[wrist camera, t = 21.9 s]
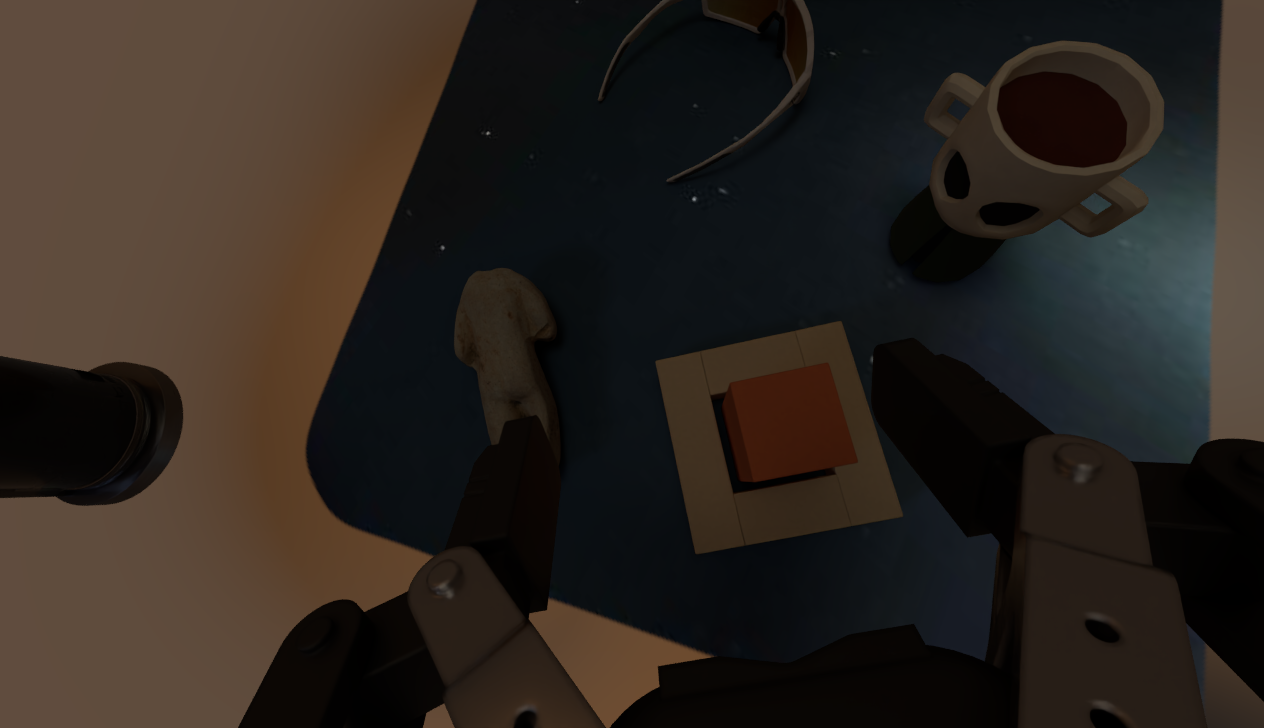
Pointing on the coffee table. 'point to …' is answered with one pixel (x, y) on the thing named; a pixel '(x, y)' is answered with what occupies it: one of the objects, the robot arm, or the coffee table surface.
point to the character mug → (1030, 155)
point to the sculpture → (507, 349)
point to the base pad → (786, 505)
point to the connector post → (786, 424)
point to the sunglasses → (755, 8)
